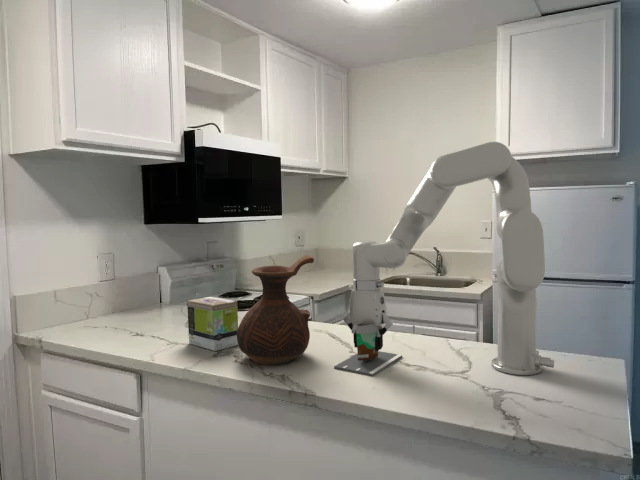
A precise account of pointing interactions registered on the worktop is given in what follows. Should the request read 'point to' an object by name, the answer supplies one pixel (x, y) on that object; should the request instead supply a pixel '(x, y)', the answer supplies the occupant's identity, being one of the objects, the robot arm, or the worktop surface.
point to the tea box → (213, 322)
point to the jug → (275, 319)
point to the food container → (366, 341)
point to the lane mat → (368, 363)
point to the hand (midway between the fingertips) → (368, 347)
